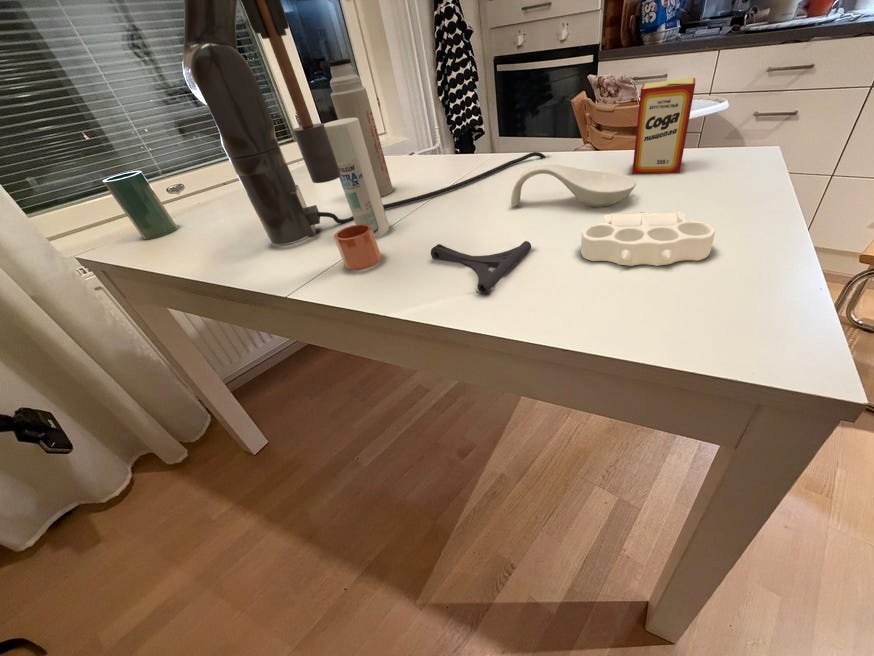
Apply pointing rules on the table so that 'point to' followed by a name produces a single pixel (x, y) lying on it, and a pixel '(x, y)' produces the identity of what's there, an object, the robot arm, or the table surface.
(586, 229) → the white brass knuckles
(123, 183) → the cup
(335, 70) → the thermos bottle
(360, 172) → the spray can
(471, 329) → the table surface
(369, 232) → the holder
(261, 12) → the long wooden handle
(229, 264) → the table surface
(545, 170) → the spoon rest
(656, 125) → the baking soda box
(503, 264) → the bracket
